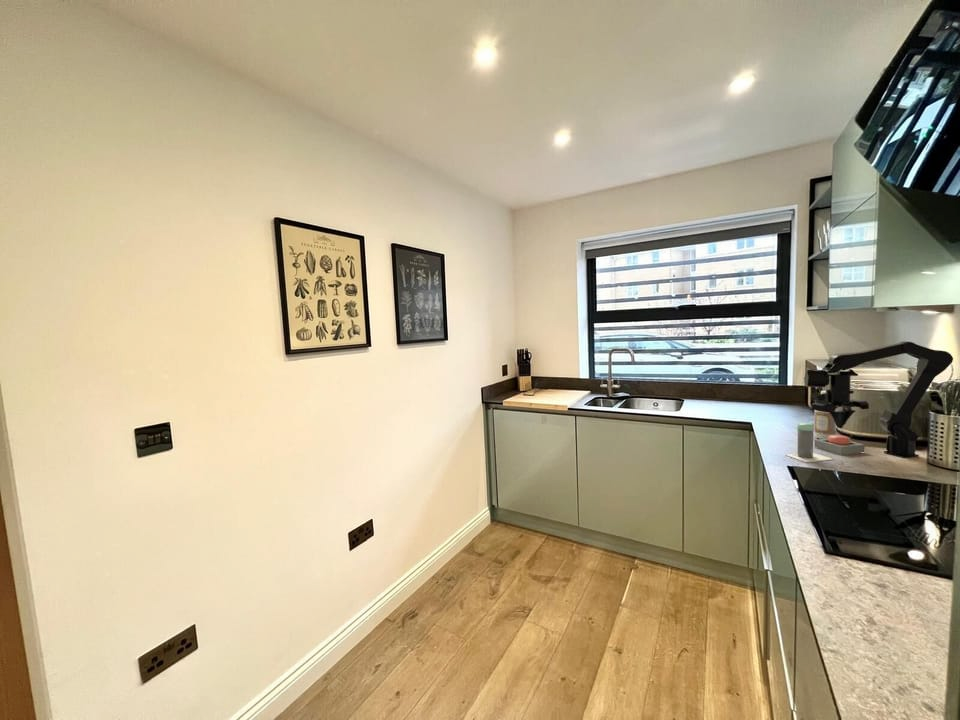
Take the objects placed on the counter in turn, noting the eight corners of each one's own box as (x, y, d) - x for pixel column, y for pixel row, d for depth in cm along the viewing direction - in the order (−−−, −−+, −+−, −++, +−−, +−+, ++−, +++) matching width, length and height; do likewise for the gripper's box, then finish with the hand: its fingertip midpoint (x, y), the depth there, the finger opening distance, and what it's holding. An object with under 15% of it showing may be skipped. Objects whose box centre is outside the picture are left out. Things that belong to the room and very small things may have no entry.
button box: (864, 452, 146) (864, 444, 146) (841, 455, 145) (841, 447, 145) (836, 445, 156) (836, 437, 156) (814, 447, 155) (814, 439, 155)
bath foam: (810, 437, 167) (811, 391, 166) (818, 435, 171) (819, 389, 169) (831, 441, 161) (832, 393, 160) (839, 438, 164) (840, 391, 163)
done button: (854, 447, 148) (854, 438, 148) (840, 448, 147) (840, 439, 147) (837, 443, 154) (837, 434, 154) (824, 444, 153) (824, 435, 153)
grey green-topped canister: (816, 457, 143) (816, 424, 142) (808, 459, 141) (808, 426, 140) (802, 453, 147) (802, 422, 146) (794, 455, 146) (794, 423, 145)
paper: (833, 459, 141) (833, 458, 141) (805, 462, 139) (805, 461, 139) (811, 453, 149) (811, 452, 149) (785, 455, 147) (785, 454, 147)
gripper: (839, 383, 158) (838, 421, 159) (798, 386, 156) (798, 425, 157) (870, 386, 147) (869, 427, 148) (826, 390, 145) (826, 432, 146)
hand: (839, 428), depth 150 cm, fingers closed
